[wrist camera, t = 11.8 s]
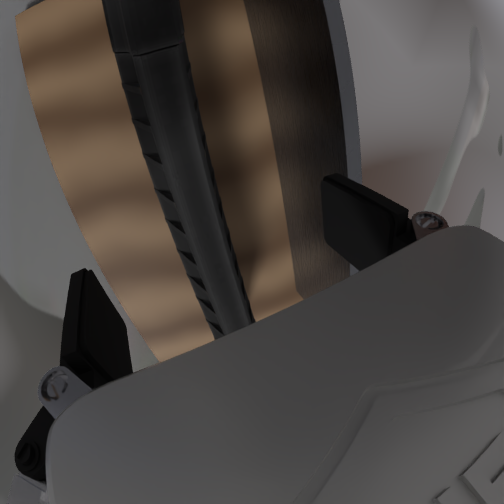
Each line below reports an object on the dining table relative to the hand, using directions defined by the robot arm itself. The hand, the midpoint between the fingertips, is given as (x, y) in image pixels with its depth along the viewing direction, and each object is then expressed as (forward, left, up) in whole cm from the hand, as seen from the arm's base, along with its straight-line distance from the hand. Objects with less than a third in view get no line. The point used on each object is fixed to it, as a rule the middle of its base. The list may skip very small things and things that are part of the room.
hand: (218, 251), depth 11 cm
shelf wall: (+1, +9, -12) cm, 15 cm away
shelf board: (+1, +1, -13) cm, 13 cm away
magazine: (+1, 0, -12) cm, 12 cm away
